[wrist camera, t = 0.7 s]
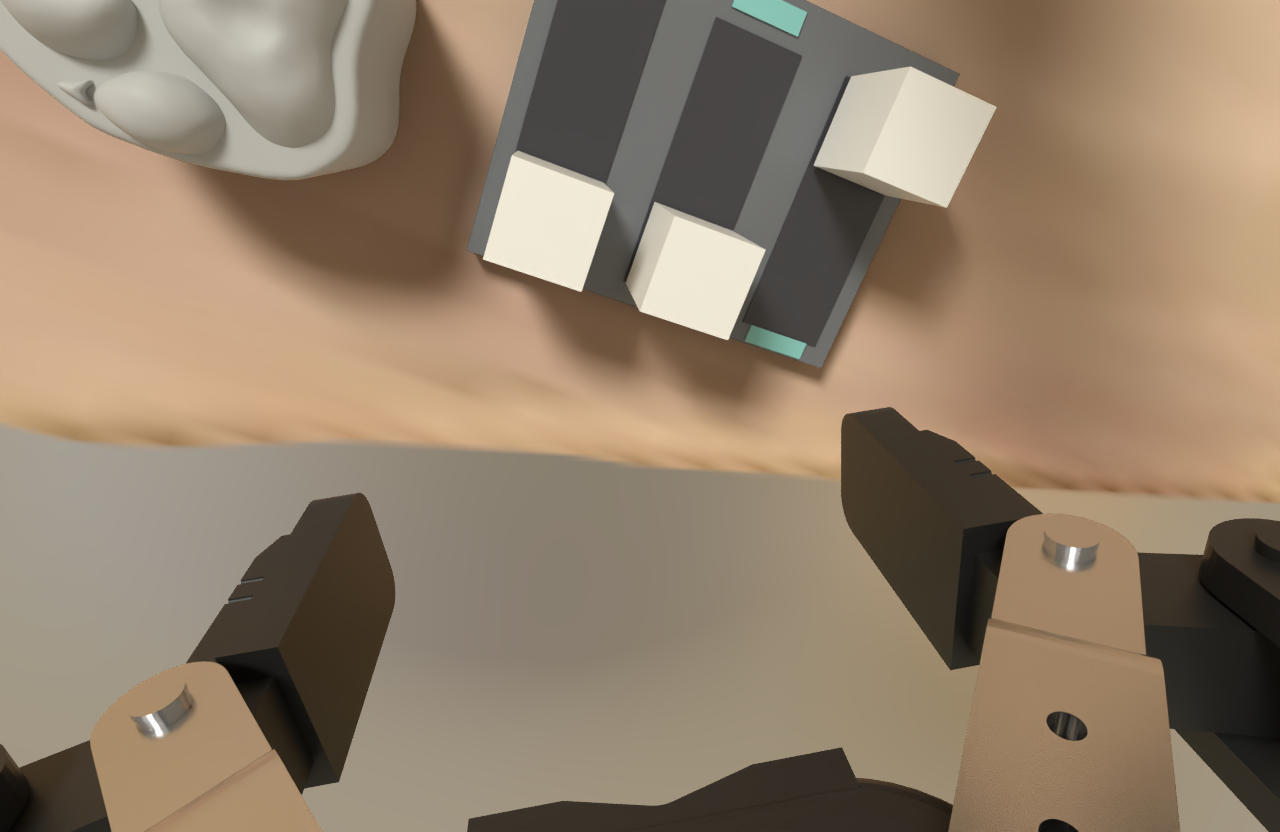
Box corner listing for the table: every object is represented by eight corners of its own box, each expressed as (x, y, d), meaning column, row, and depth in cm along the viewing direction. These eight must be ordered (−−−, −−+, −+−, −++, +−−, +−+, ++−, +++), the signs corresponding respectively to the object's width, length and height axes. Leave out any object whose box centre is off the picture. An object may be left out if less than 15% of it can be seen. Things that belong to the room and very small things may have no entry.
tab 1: (517, 150, 30) (511, 155, 25) (603, 182, 31) (614, 193, 26) (493, 238, 32) (482, 259, 26) (576, 266, 32) (581, 292, 27)
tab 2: (851, 76, 31) (910, 66, 26) (925, 110, 32) (996, 106, 27) (813, 165, 32) (862, 172, 27) (885, 195, 33) (946, 207, 28)
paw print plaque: (387, 191, 32) (335, 213, 24) (73, 101, 29) (-103, 92, 21) (428, -59, 29) (383, -130, 21) (76, -190, 26) (-134, -331, 18)
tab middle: (654, 201, 32) (674, 215, 27) (732, 230, 33) (765, 249, 28) (625, 283, 33) (639, 311, 28) (701, 308, 34) (727, 340, 29)
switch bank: (564, -102, 29) (565, -116, 27) (941, 76, 33) (960, 73, 32) (470, 245, 33) (466, 250, 32) (810, 358, 38) (821, 368, 36)
